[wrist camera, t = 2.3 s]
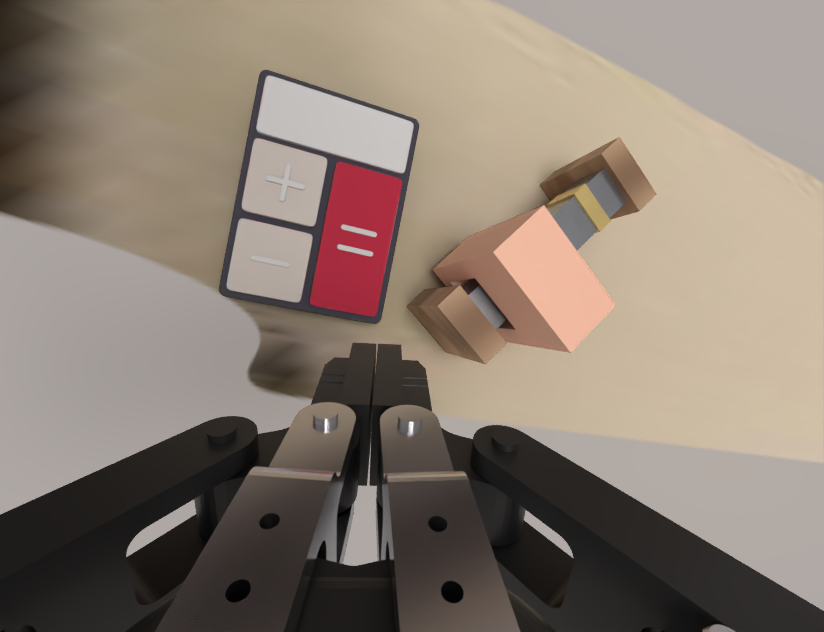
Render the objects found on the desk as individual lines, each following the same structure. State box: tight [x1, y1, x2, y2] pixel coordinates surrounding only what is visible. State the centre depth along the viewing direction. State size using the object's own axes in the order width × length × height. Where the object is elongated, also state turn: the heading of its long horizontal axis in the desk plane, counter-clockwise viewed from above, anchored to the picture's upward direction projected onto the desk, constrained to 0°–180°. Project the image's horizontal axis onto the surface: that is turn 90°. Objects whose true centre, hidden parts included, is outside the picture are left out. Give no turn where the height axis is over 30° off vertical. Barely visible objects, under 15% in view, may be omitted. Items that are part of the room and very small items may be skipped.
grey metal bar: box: [462, 168, 627, 329], centre depth 29 cm, size 3×16×3 cm, turn 131°
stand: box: [407, 137, 656, 364], centre depth 31 cm, size 5×18×8 cm, turn 131°
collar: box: [432, 205, 616, 353], centre depth 27 cm, size 7×4×10 cm, turn 41°
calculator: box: [219, 70, 419, 324], centre depth 29 cm, size 11×4×15 cm
